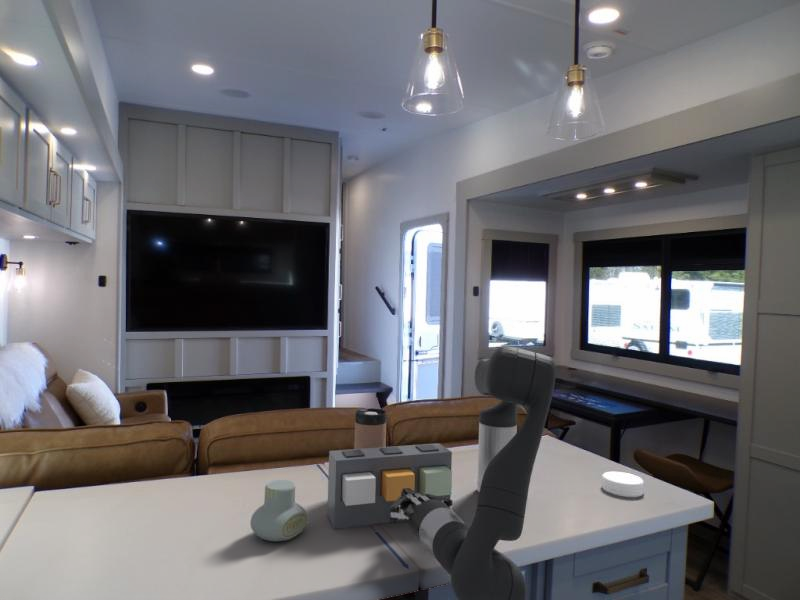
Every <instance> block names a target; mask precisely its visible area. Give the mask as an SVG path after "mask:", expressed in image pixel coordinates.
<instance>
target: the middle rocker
mask: <svg viewBox="0 0 800 600" xmlns="http://www.w3.org/2000/svg"><path fill="white" fill-rule="evenodd" d="M403 488H411V489H412V490H414V488H415V474H414V473H413V472H412V471H411V470H409V469H408V468H400V469H389V470H381V489H380V494H381V495H382V496H383V497H384V499H385V500H386V501H396V500H397V499H398V498H399V497H401V491H403Z"/></svg>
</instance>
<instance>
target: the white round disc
mask: <svg viewBox="0 0 800 600" xmlns="http://www.w3.org/2000/svg"><path fill="white" fill-rule="evenodd" d="M644 485H645V483H644V480H643V478H642V477H640V476H638V475H636V474H632V473H628V472H625V471H605V472H604V473H603V474H602V475H601V488H602V490H604V491H605V492H606V493H609V494H611V495H615V496H619V497H626V498H638V497H641V496H643V495H644V493H645V491H644V488H645V486H644Z"/></svg>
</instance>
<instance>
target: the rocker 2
mask: <svg viewBox="0 0 800 600" xmlns="http://www.w3.org/2000/svg"><path fill="white" fill-rule="evenodd" d="M452 478H453V471H452V469H451V470H450V469H448V468H447V467H446V466H445V465H435V466H424V467H419V472H418V491H419V492H420V493H421V494H422V495H423V496H424V495H425V494H431V495H435V496H443V495H452V490H453V489H452V486H453V485H452V484H453V483H452V480H453V479H452Z"/></svg>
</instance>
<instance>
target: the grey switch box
mask: <svg viewBox="0 0 800 600" xmlns="http://www.w3.org/2000/svg"><path fill="white" fill-rule="evenodd" d="M328 452H329V453H328V478H327V480H328V481H327V483H328V485H327V510H326V511H327V512H326V513H327V514H326V515H327V518H328V519H329V522H330V524H331V526H332V528H333V529H334V530H337V529H339V530H340V529H349V528H355V527H365V526H373V525H380V524H390V523H393V522H392V521H390V507H391V506H392V504H393V503H394V502H395V501H386V500H385V499H384V497H383V496H382V495H381V494H380V489H381V470H389V469H400V468H408V469H409V470H411V471H412V472H413V473H414V474H415V488H414V491H415V492H416V493H419V494H421V493H420V492H419V491H418V472H419V467H424V466H435V465H445V466H446V467H447V468H448V469H450V470H451V471H452V462H453V461H452V460H453V459H452V457H453V456H452V455H453V454H452V453H453V452H452V451H451V450H450V449H448V448H447V447H446V446H444V445H442V444H441V443H423V444H411V445H410V444H409V445H397V446H396V445H395V446H386V447H379V448H364V449H354V448H352V449H339V450H336V449H335V450H329V451H328ZM365 471H370V472H371V473H372V474H373V475H374V477H375V478H376V488H375V503H368V504H358V505H349V506H346V505H345V503H344V501H343V500H342V498H341V474H342V473H353V472H365ZM421 495H422V494H421ZM451 495H452V494H451ZM451 495H443V496H438V497H442V498H446V499H450V500H451ZM422 496H423V495H422ZM405 510H406V508H405ZM396 522H404V520H403V519H397V521H395V522H394V523H396ZM348 527H349V528H348Z"/></svg>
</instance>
